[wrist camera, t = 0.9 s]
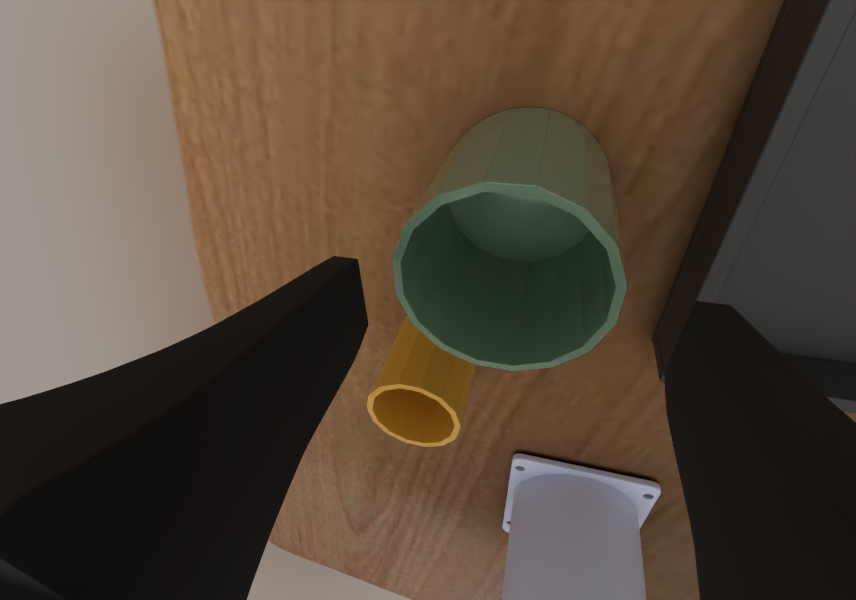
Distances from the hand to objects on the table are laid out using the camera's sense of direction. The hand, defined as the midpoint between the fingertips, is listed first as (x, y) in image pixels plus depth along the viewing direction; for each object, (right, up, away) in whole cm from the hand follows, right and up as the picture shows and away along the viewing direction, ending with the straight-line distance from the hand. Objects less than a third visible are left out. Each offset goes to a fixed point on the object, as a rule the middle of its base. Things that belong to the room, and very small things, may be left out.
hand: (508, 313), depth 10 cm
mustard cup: (-1, -1, +11) cm, 11 cm away
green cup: (+2, +4, +6) cm, 8 cm away
